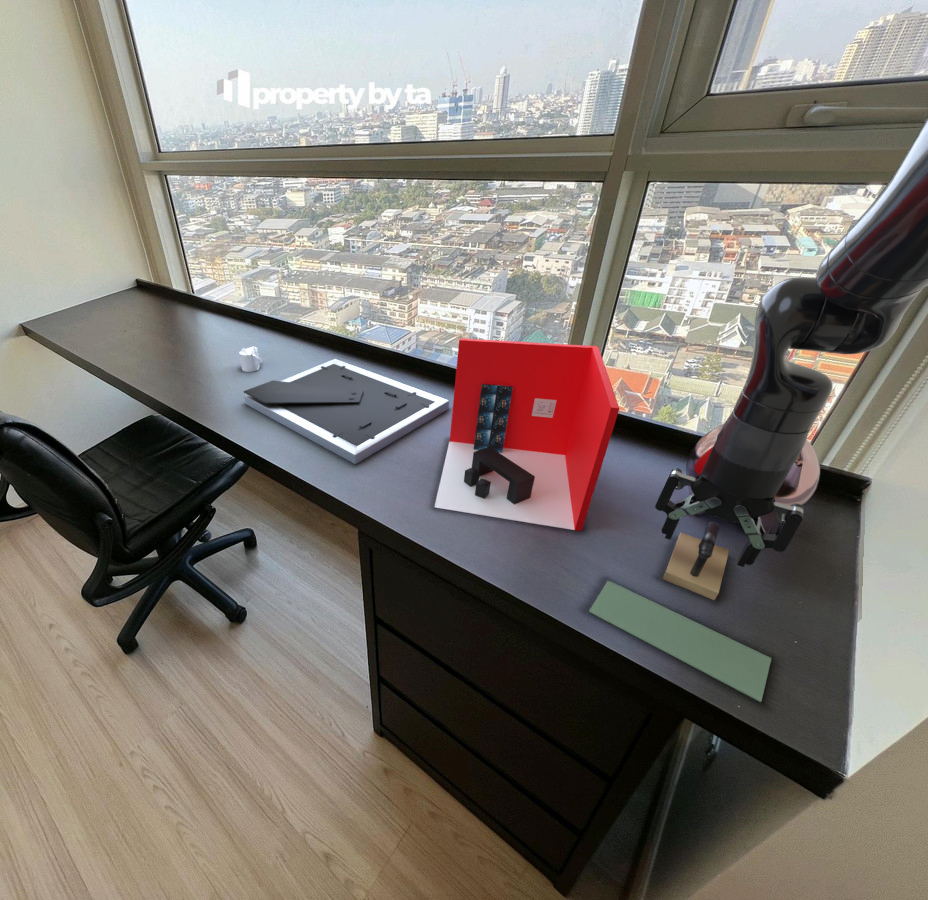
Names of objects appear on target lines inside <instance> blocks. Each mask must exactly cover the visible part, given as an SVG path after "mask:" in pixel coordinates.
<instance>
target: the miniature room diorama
mask: <svg viewBox="0 0 928 900" xmlns="http://www.w3.org/2000/svg"><path fill="white" fill-rule="evenodd" d="M456 360H457V361H456V368H455V380H454V381H455V382H454V390H453V401H452V412H451V423H450V432H449V441H448V446H447V451H446V455H445V460H444V463H443V468H442V473H441V478H440V481H439V486H438V489H437V494H436V499H435V503H434V508H435V509H442V510H446V511H453V512H460V513H466V514H472V515H477V516H478V515H479V516H483V517H484V516H485V517H490V518H496V519H501V520H502V519H503V520H509V521H516V522H522V523H528V524H534V525H539V526H546V527H553V528H558V529H565V530H571V531H577V532H582V531H583V527H584V524H585V521H586V517H587V515H588V512H589V508H590V505H591V502H592V499H593V495H594V492H595V489H596V486H597V482H598V479H599V475H600V472H601V470H602V466H603V463H604V460H605V457H606V453H607V450H608V446H609V444H610V441H611V437H612V434H613V431H614V428H615V424H616V421H617V418H618V415H619V411H620V406H619V402H618V400H617V397H616V394H615V391H614V389H613V385H612V382H611V380H610V377H609V374H608V371H607V368H606V365H605V362H604V359H603V356H602V353H601V351H600V348H599V345H585V344H584V345H583V344H569V343H568V344H567V343H566V344H565V343H552V342H551V343H549V342H533V341H532V342H530V341H517V340H499V339H498V340H497V339H496V340H495V339H482V338H481V339H478V338H463V337H461V338H459V340H458V349H457V359H456Z"/></svg>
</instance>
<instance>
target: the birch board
mask: <svg viewBox="0 0 928 900" xmlns="http://www.w3.org/2000/svg"><path fill="white" fill-rule="evenodd" d="M719 531H720V525H719V524H718V523H717V522H715V521H710V522H707V524H706V526H705V529H704V532H703V535H702V537H701V538H697V537H695V536H692V535H689V534H686V533H684V532H680V533H679V534H678V537H677V539H676V542H675V544H674V547H673V550H672V552H671V555H670V558H669V560H668V563H667V566H666V569H665V571H664V574H663V577H662V580H663V581H666V582H669V583H671V584H673V585H676V586H678V587H680V588H683V589H685V590H687V591H690V592H693V593H695V594H697V595H700V596H702V597H704V598H707V599H709V600H712V601H716V599H717V597H718V596H719V594H720V591H721V586H722V583H723V582H722V581H723V577H724V574H725V571H726V570H725V569H726V566H727V562H728V558H729V554H730V549H728V548H725V547H722V546H719V545H717V544H716V541H717V537H718V534H719Z"/></svg>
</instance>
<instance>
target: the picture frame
mask: <svg viewBox="0 0 928 900" xmlns="http://www.w3.org/2000/svg"><path fill="white" fill-rule="evenodd" d="M243 394H245V395H244V396H243V397H244V403H245V405H247V406H249V407H250V408H252V409H254V410H256V411H257V412H259V413H260V414H263V415H265V416H266V417H268V418H269V419H272V420H274V421H275V422H277V423H279V424H281V425H283V426H284V427H287V428H288V429H290V430H292V431H294V432H295V433H297V434H299V435H301V436H303V437H305V438H306V439H308V440H310V441H311V442H314V443H315V444H317V445H319V446H320V447H323V448H324V449H326V450H328V451H330V452H331V453H334V454H335V455H337V456H339V457H341V458H343V459H344V460H346V461H347V462H349V463H352V464H353V465H357V464H358V463H360V462H362V461H363V460H366V459H367V458H369V457H370V456H372V455H374V454H375V453H377V452H379V451H380V450H382V449H384V448H385V447H387V446H389V445H391V444H392V443H394V442H396V441H397V440H400V439H401V438H402V437H404V436H406V435H408V434H409V433H411V432H412V431H414V430H416V429H418V428H419V427H421V426H422V425H424V424H426V423H427V422H429V421H431V420H433V419H434V418H436V417H439V416H440V415H441V414H443V413H445V412H446V411H448V410H449V409H450V400H449V399H446V398H445V397H444V398H443V397H441V396H438V395H435V394H433V393H430V392H427V391H425V390H422V389H419V388H416V387H413V386H410V385H408V384H405V383H402V382H400V381H397V380H394V379H391V378H389V377H387V376H383V375H380V374H378V373H375V372H372V371H370V370H366V369H364V368H361V367H359V366H356V365H353V364H352V363H351V364H350V363H348V362H345V361H342V360H339V359H337V358H334V359H331V360H328V361H326V362H323V363H320V364H319V365H316V366H313V367H312V368H309V369H307V370H304V371H302V372H299V373H297V374H294V375H292V376H289V377H287V378H285V379H283V380H270V381H267V382H264V383H262V384H258V385H256V386H253V387H250V388H248V389H245V390H243Z"/></svg>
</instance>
